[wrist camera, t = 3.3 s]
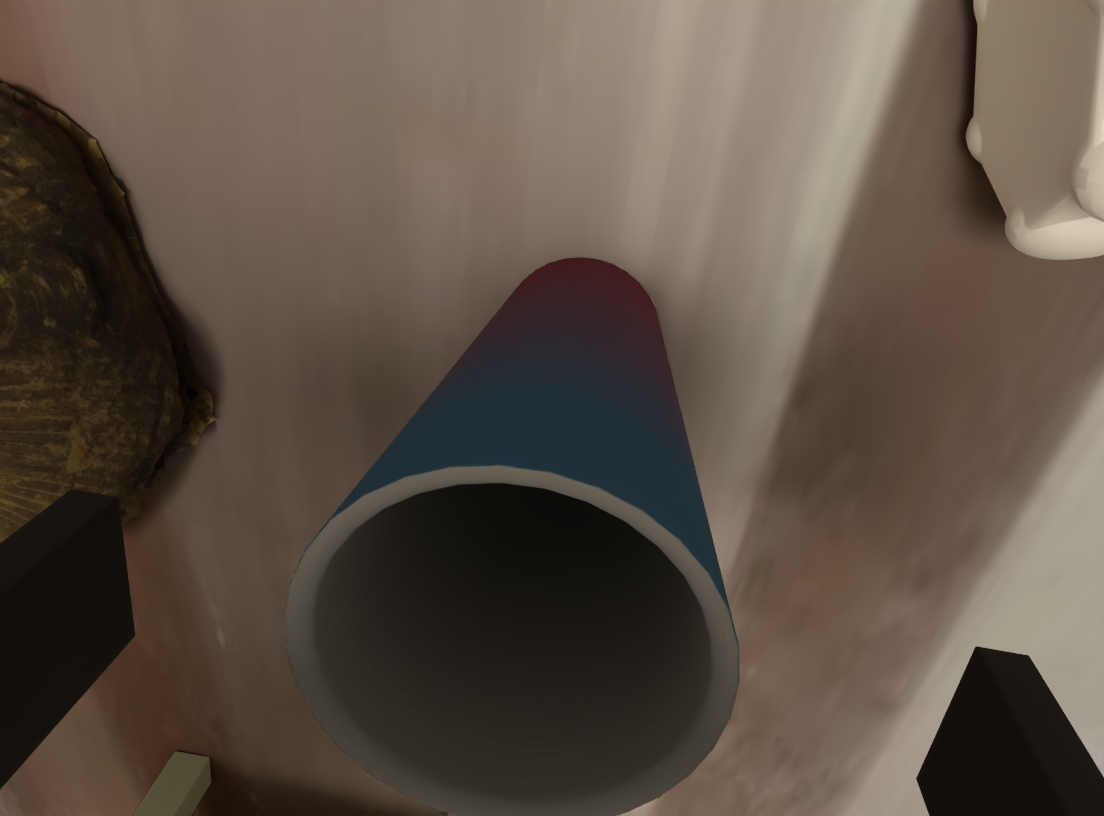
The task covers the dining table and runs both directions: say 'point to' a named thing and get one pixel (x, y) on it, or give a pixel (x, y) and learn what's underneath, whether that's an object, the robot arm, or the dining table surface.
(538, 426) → the cup
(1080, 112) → the bone shaped toy
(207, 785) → the stand
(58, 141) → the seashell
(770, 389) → the dining table surface
